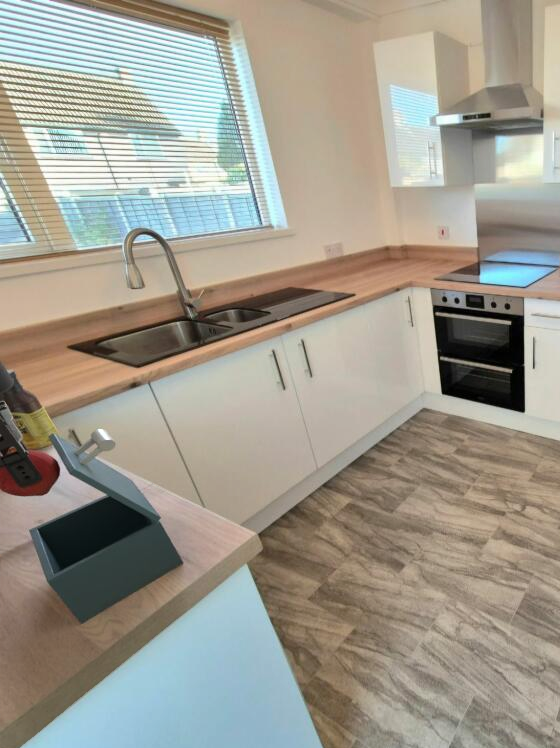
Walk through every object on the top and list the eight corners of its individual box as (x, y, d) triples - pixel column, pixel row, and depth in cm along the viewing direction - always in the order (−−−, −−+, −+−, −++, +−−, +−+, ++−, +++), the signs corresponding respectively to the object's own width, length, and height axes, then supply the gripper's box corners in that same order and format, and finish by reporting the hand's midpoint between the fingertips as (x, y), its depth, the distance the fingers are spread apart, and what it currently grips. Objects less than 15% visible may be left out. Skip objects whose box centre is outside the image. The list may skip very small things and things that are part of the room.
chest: (81, 624, 60) (46, 581, 56) (59, 570, 69) (28, 529, 65) (183, 563, 68) (160, 522, 64) (153, 521, 77) (131, 483, 73)
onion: (14, 516, 56) (-24, 466, 52) (13, 496, 59) (-22, 449, 56) (73, 492, 59) (42, 444, 56) (69, 475, 63) (39, 430, 59)
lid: (69, 473, 55) (109, 443, 57) (47, 436, 64) (83, 411, 66) (156, 522, 64) (188, 494, 67) (127, 483, 73) (156, 460, 75)
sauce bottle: (23, 453, 100) (-30, 377, 91) (56, 438, 105) (9, 365, 96) (38, 458, 98) (-15, 381, 89) (71, 443, 103) (24, 368, 94)
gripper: (-103, 359, 52) (-17, 470, 59) (-106, 389, 43) (-6, 513, 51) (-12, 339, 57) (56, 444, 64) (0, 362, 49) (76, 479, 56)
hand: (28, 474), depth 58 cm, fingers closed on onion, 5 cm apart
